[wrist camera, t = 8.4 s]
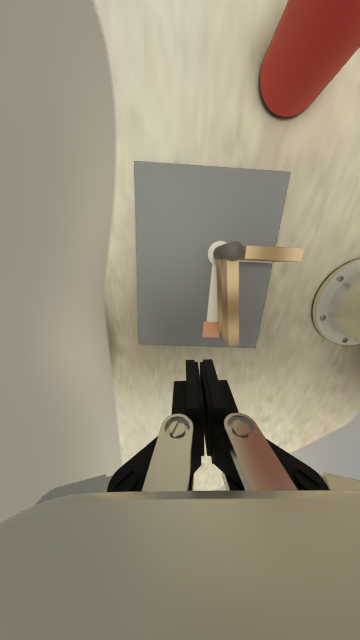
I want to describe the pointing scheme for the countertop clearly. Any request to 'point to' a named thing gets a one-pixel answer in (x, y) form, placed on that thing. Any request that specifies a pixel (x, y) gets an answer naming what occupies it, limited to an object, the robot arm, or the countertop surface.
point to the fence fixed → (272, 254)
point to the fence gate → (228, 290)
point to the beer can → (308, 52)
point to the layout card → (201, 247)
